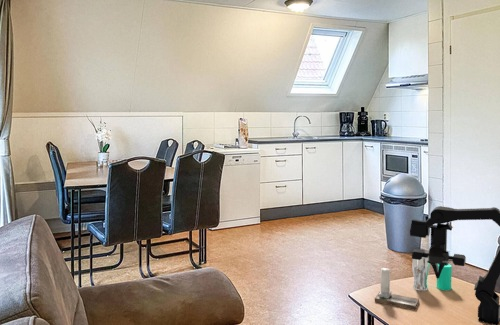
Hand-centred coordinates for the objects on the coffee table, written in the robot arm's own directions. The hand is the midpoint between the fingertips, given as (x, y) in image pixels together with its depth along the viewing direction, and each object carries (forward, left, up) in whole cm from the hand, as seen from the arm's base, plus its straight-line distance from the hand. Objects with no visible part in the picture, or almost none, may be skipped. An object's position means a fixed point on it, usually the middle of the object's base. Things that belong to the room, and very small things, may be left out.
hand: (437, 278), depth 166 cm
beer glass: (+12, -18, -13) cm, 25 cm away
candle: (+4, -25, -13) cm, 28 cm away
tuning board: (+15, +2, -13) cm, 20 cm away
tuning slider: (+20, +3, -11) cm, 23 cm away
